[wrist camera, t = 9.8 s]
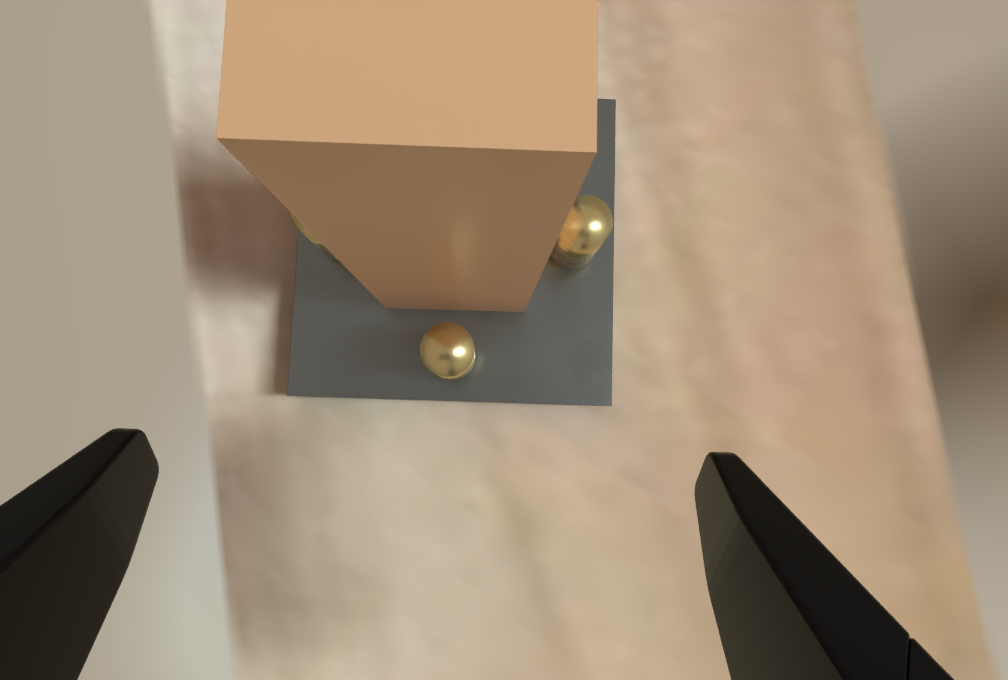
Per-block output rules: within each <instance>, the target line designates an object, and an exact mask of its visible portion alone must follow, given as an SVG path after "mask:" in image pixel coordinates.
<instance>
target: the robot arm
mask: <svg viewBox="0 0 1008 680" xmlns="http://www.w3.org/2000/svg"><path fill="white" fill-rule="evenodd" d="M158 473H159V466H158V462H157V459H156V457H155V455H154V453H153V450H152V448H151V446H150V444H149V442H148V439H147V437H146V435H145V433H144V432H143V431H141V430H138V429H122V428H117V429H113V430H110V431H109V432H107V433H105V434H104V435H103V436H101V437H100V438H98V439H97V440H95V441H94V442H92V443H91V444H89V445H88V446H87V447H85V448H84V449H82V450H81V451H79V452H78V453H76V454H75V455H73V456H72V457H71V458H69V459H68V460H66V461H65V462H63V463H62V464H60V465H59V466H57V467H56V468H55V469H53V470H52V471H50V472H49V473H47V474H46V475H44V476H43V477H42V478H40V479H39V480H37V481H36V482H34V483H33V484H31V485H30V486H28V487H27V488H26V489H24V490H23V491H21V492H20V493H18V494H17V495H15V496H14V497H13V498H11V499H9V500H8V501H7V502H5V503H4V504H2V505H1V506H0V680H77V679H78V677H79V675H80V672H81V670H82V668H83V666H84V664H85V662H86V659H87V657H88V655H89V653H90V651H91V648H92V646H93V644H94V642H95V640H96V637H97V635H98V633H99V631H100V629H101V626H102V624H103V622H104V620H105V618H106V615H107V613H108V611H109V609H110V607H111V604H112V602H113V600H114V598H115V595H116V593H117V591H118V589H119V587H120V584H121V582H122V580H123V578H124V575H125V573H126V570H127V568H128V566H129V563H130V560H131V557H132V555H133V552H134V549H135V546H136V543H137V540H138V537H139V533H140V530H141V527H142V524H143V521H144V518H145V515H146V512H147V509H148V506H149V502H150V500H151V497H152V494H153V491H154V487H155V484H156V481H157V478H158ZM695 502H696V510H697V517H698V524H699V531H700V538H701V545H702V552H703V560H704V567H705V574H706V580H707V586H708V590H709V595H710V599H711V603H712V607H713V611H714V615H715V618H716V622H717V626H718V630H719V634H720V638H721V642H722V646H723V649H724V653H725V657H726V661H727V665H728V669H729V673H730V677H731V680H954V679H953V678H952V677H951V676H950V675H949V674H948V673H947V672H946V671H945V670H944V669H943V668H942V667H941V666H940V665H939V664H938V663H937V662H936V661H935V660H934V659H933V658H932V657H931V656H930V655H929V654H928V652H927V651H926V650H925V649H924V648H923V647H922V646H921V645H920V644H919V643H918V642H917V641H916V640H915V639H913V638H910V636H909V633H908V632H907V631H906V630H905V629H904V628H903V627H902V626H901V625H900V624H899V623H898V622H897V621H896V620H895V619H894V617H893V616H892V615H891V614H890V613H889V612H888V611H887V610H886V609H885V608H884V607H883V606H882V605H881V604H880V603H879V602H878V601H877V600H876V599H875V598H874V597H873V596H872V595H871V594H870V593H869V592H868V590H867V589H866V588H865V587H864V586H863V585H862V584H861V583H860V582H859V581H858V580H857V579H856V578H855V577H854V576H853V575H852V574H851V573H850V572H849V571H848V570H847V569H846V568H845V567H844V566H843V565H842V564H841V562H840V561H839V560H838V559H837V558H836V557H835V556H834V555H833V554H832V553H831V552H830V551H829V550H828V549H827V548H826V547H825V546H824V545H823V544H822V543H821V542H820V541H819V540H818V539H817V538H816V537H815V535H814V534H813V533H812V532H811V531H810V530H809V529H808V528H807V527H806V526H805V525H804V524H803V523H802V522H801V521H800V520H799V519H798V518H797V517H796V516H795V515H794V514H793V513H792V512H791V511H790V510H789V509H788V507H787V506H786V505H785V504H784V503H783V502H782V501H781V500H780V499H779V498H778V497H777V496H776V495H775V494H774V493H773V492H772V491H771V490H770V489H769V488H768V487H767V486H766V485H765V484H764V483H763V482H762V480H761V479H760V478H759V477H758V476H757V475H756V474H755V473H754V472H753V471H752V470H751V469H750V468H749V467H748V466H747V465H746V464H745V463H744V462H743V461H742V460H741V459H740V458H739V457H738V456H737V455H736V454H734V453H730V452H710V453H709V454H708V455H707V456H706V458H705V460H704V463H703V465H702V468H701V471H700V473H699V476H698V479H697V481H696V485H695ZM909 638H910V639H909Z"/></svg>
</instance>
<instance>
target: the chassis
mask: <svg viewBox="0 0 1008 680" xmlns="http://www.w3.org/2000/svg"><path fill="white" fill-rule="evenodd" d="M615 108H616V100H613V99H597V153H596V155H595V157H594V160H593V162H592V164H591V166H590V168H589V171H588V173H587V175H586V177H585V179H584V182H583V184H582V186H581V188H580V190H579V193H578V195H577V197H576V199H575V201H574V204H573V206H572V208H571V210H570V212H569V215H568V217H567V219H566V221H565V223H564V226H563V228H562V230H561V232H560V234H559V237H558V239H557V241H556V243H555V245H554V248H553V250H552V252H551V254H550V256H549V259H548V261H547V263H546V265H545V267H544V270H543V272H542V274H541V276H540V278H539V281H538V283H537V285H536V287H535V289H534V292H533V294H532V296H531V298H530V301H529V303H528V305H527V307H526V309H525V312H502V311H468V310H434V309H401V308H385V307H384V306H383V305H382V304H381V303H380V302H379V301H378V300H377V299H376V298H375V297H374V296H373V295H372V294H371V293H370V292H369V291H368V290H367V289H366V288H365V287H364V286H363V285H362V283H361V282H360V281H359V280H358V279H357V278H356V277H355V276H354V275H353V274H352V273H351V272H350V271H349V270H348V269H347V268H346V267H345V266H344V265H343V264H342V263H341V262H340V261H339V260H338V259H337V258H336V257H335V256H334V255H333V254H332V253H331V252H330V251H329V250H328V249H327V248H326V247H325V246H324V245H323V244H322V243H321V242H320V241H319V240H318V239H317V238H316V237H315V236H314V235H313V234H312V233H311V232H310V231H309V230H308V229H307V228H306V227H305V226H304V225H303V224H302V223H301V222H300V221H299V220H298V219H297V218H296V217H295V216H294V215H293V214H292V213H291V212H290V216H291V219H292V221H293V223H294V225H295V226H296V227H297V228H298V244H297V258H296V273H295V288H294V303H293V318H292V333H291V348H290V362H289V377H288V392H287V396H308V397H340V398H371V399H403V400H435V401H466V402H498V403H529V404H561V405H592V406H612V333H613V258H614V183H615Z"/></svg>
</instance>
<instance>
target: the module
mask: <svg viewBox="0 0 1008 680" xmlns="http://www.w3.org/2000/svg"><path fill="white" fill-rule="evenodd" d="M597 73H598V0H227V2H226V15H225V29H224V42H223V55H222V68H221V81H220V95H219V108H218V121H217V134H216V138H217V139H218V140H219V141H220V142H221V143H222V144H223V145H224V146H225V147H226V148H227V149H228V150H229V151H230V152H231V153H232V154H233V155H234V156H235V157H236V158H237V159H238V160H239V161H240V162H241V163H242V164H243V165H244V166H245V167H246V168H247V169H248V170H249V171H250V172H251V173H252V174H253V175H254V176H255V177H256V178H257V179H258V180H259V181H260V182H261V183H262V184H263V185H264V186H265V187H266V188H267V189H268V190H269V191H270V192H271V193H272V194H273V195H274V196H275V197H276V198H277V199H278V200H279V201H280V202H281V203H282V204H283V205H284V206H285V207H286V208H287V209H288V210H289V211H290V212H291V213H292V214H293V215H294V216H295V217H296V218H297V219H298V220H299V221H300V222H301V223H302V224H303V225H304V226H305V227H306V228H307V229H308V230H309V231H310V232H311V233H312V234H313V235H314V236H315V237H316V238H317V239H318V240H319V241H320V242H321V243H322V244H323V245H324V246H325V247H326V248H327V249H328V250H329V251H330V252H331V253H332V254H333V255H334V256H335V257H336V258H337V259H338V260H339V261H340V262H341V263H342V264H343V265H344V266H345V267H346V268H347V269H348V270H349V271H350V272H351V273H352V274H353V275H354V276H355V277H356V278H357V279H358V280H359V281H360V282H361V283H362V285H363V286H364V287H365V288H366V289H367V290H368V291H369V292H370V293H371V294H372V295H373V296H374V297H375V298H376V299H377V300H378V301H379V302H380V303H381V304H382V305H383V306H384V307H385V308H401V309H434V310H468V311H502V312H525V309H526V307H527V305H528V303H529V301H530V298H531V296H532V294H533V292H534V289H535V287H536V285H537V283H538V281H539V278H540V276H541V274H542V272H543V270H544V267H545V265H546V263H547V261H548V259H549V256H550V254H551V252H552V250H553V248H554V245H555V243H556V241H557V239H558V237H559V234H560V232H561V230H562V228H563V226H564V223H565V221H566V219H567V217H568V215H569V212H570V210H571V208H572V206H573V204H574V201H575V199H576V197H577V195H578V193H579V190H580V188H581V186H582V184H583V182H584V179H585V177H586V175H587V173H588V171H589V168H590V166H591V164H592V162H593V160H594V157H595V155H596V153H597Z"/></svg>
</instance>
